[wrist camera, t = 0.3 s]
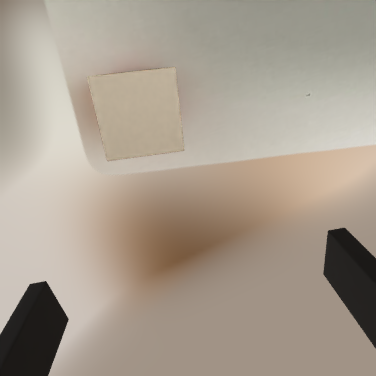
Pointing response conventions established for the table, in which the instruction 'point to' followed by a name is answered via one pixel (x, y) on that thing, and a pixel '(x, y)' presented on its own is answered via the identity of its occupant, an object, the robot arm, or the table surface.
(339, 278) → the robot arm
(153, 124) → the cream and orange block
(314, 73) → the table surface
